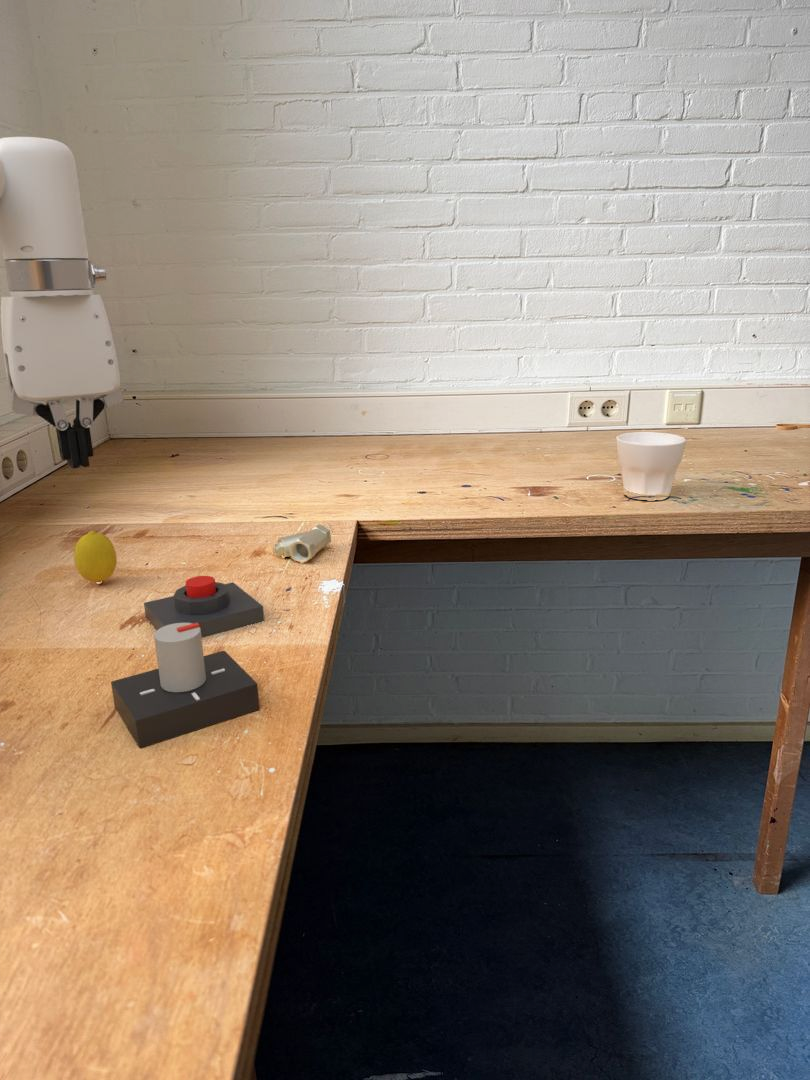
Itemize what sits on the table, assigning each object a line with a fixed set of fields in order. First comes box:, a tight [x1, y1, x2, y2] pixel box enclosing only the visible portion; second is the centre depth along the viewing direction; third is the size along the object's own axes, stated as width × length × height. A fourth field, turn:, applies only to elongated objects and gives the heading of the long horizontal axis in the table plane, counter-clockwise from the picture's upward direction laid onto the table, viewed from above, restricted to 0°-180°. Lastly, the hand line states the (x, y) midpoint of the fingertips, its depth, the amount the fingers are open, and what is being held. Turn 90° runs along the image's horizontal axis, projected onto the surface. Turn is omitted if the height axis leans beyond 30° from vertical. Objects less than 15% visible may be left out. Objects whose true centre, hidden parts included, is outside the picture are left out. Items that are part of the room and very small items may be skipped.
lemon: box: [73, 530, 118, 583], centre depth 112 cm, size 6×6×8 cm
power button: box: [185, 575, 216, 598], centre depth 100 cm, size 4×4×2 cm
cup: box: [615, 431, 687, 495], centre depth 150 cm, size 12×12×11 cm
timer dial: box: [153, 623, 206, 693], centre depth 79 cm, size 4×4×6 cm
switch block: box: [143, 581, 265, 639], centre depth 100 cm, size 12×10×4 cm
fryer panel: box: [110, 650, 260, 749], centre depth 80 cm, size 12×9×3 cm
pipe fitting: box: [272, 524, 332, 563], centre depth 123 cm, size 8×4×7 cm
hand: (78, 465), depth 83 cm, fingers closed
